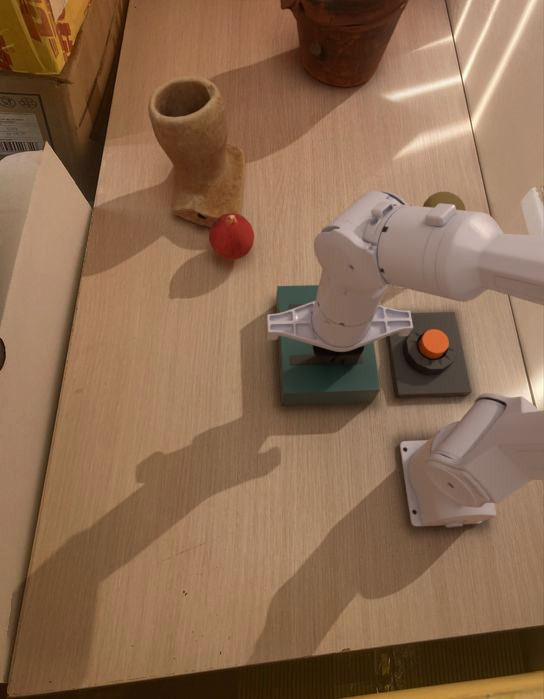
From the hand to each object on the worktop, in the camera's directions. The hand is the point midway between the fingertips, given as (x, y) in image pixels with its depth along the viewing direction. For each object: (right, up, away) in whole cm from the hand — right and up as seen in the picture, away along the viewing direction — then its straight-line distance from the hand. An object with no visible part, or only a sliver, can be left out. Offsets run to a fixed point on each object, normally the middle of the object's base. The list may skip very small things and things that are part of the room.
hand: (328, 357), depth 62 cm
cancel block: (+13, 0, +6) cm, 14 cm away
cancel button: (+13, +1, +4) cm, 14 cm away
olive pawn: (+14, +14, +13) cm, 23 cm away
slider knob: (+2, 0, 0) cm, 2 cm away
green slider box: (0, +1, +6) cm, 6 cm away
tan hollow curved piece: (-16, +24, +16) cm, 33 cm away
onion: (-12, +14, +12) cm, 22 cm away
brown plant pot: (+4, +49, +28) cm, 57 cm away
